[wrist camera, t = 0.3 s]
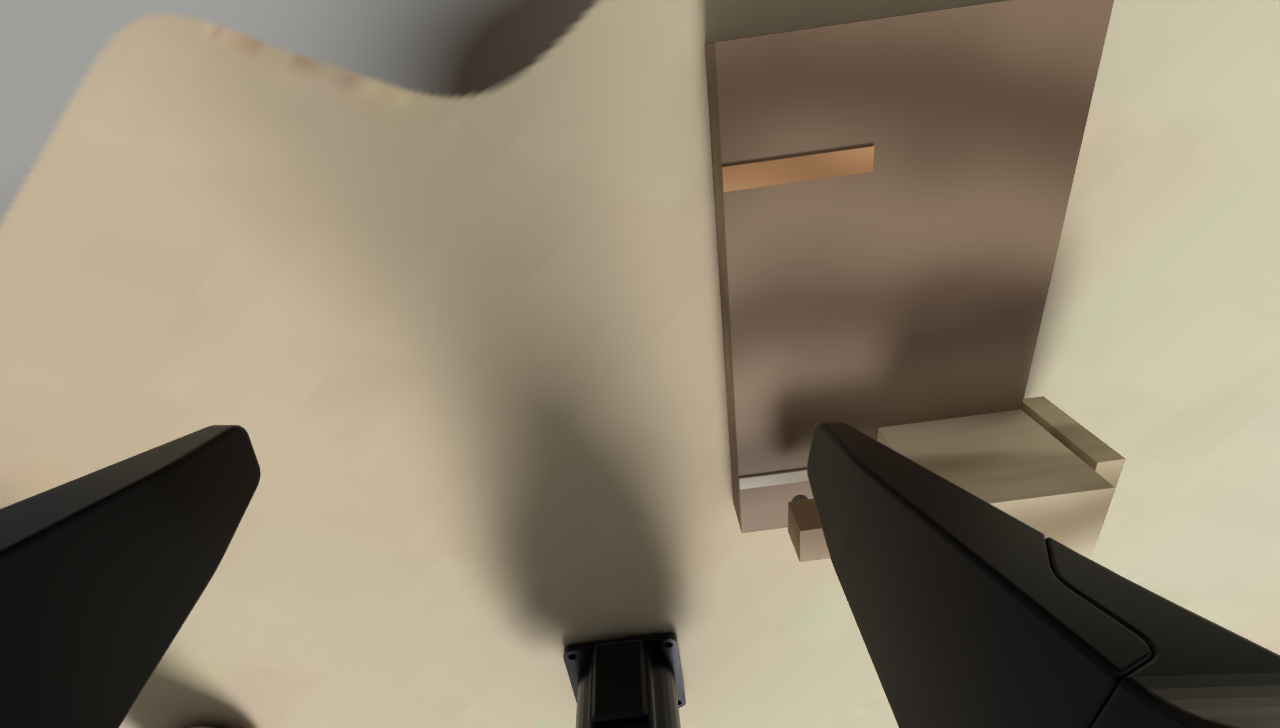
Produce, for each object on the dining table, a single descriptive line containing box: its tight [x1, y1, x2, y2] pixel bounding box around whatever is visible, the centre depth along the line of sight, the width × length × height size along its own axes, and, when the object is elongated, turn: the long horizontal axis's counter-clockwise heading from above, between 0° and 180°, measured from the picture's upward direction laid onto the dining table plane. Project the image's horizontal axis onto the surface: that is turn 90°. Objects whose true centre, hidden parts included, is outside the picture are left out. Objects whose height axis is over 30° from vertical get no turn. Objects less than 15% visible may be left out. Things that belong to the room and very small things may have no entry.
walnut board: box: [705, 0, 1114, 533], centre depth 22 cm, size 20×12×2 cm, turn 7°
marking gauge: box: [788, 396, 1125, 562], centre depth 23 cm, size 4×12×6 cm, turn 97°
